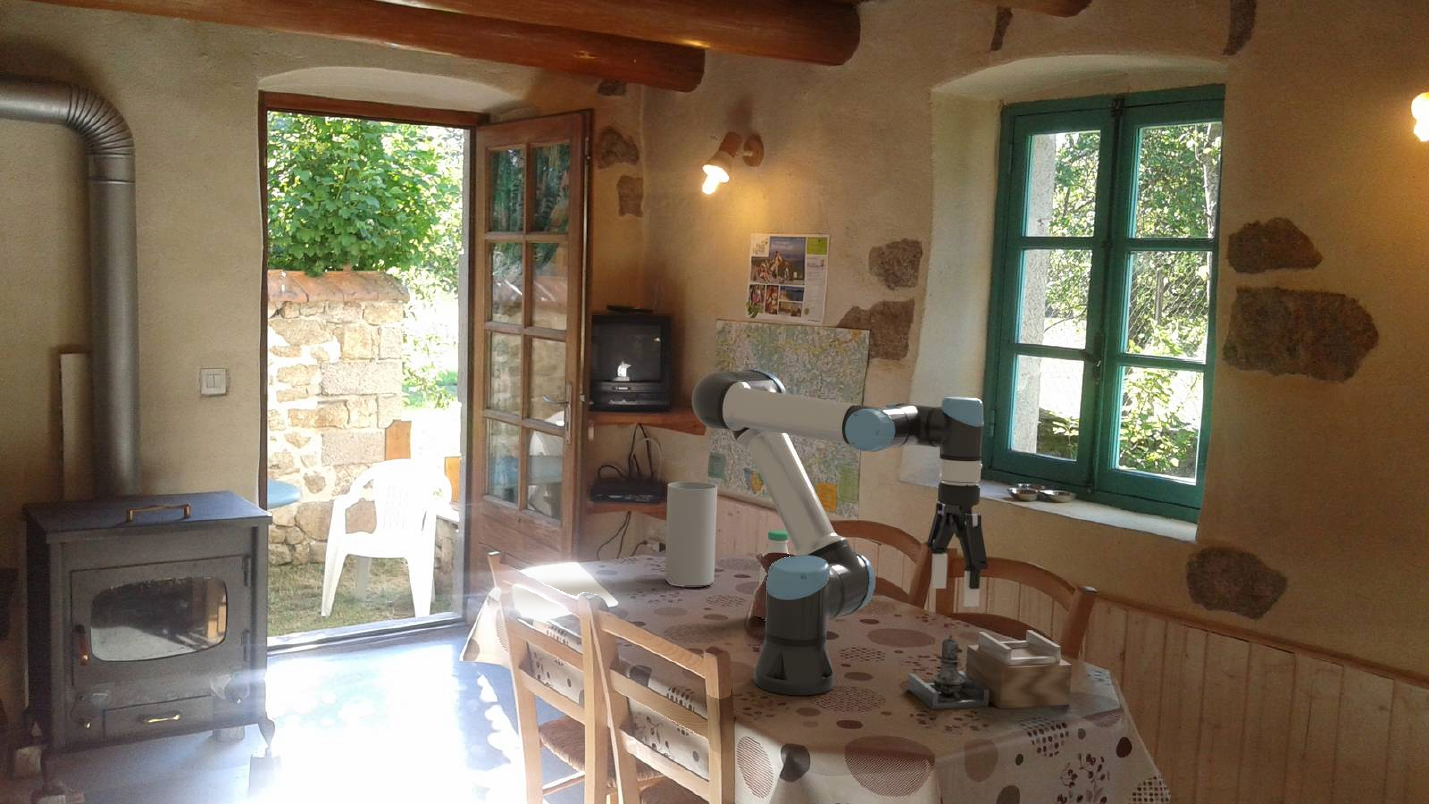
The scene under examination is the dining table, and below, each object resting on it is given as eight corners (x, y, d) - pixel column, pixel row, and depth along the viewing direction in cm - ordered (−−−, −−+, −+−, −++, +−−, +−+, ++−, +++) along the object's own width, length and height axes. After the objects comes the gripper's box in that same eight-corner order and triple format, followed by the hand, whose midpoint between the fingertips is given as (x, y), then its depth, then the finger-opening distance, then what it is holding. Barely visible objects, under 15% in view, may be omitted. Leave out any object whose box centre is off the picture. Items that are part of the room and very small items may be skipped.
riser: (999, 708, 216) (1003, 651, 215) (965, 683, 229) (968, 630, 228) (1069, 704, 219) (1072, 648, 218) (1031, 680, 233) (1034, 627, 232)
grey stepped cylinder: (963, 704, 217) (967, 640, 216) (930, 701, 218) (934, 637, 217) (963, 694, 223) (967, 631, 222) (931, 691, 224) (934, 628, 223)
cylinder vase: (723, 582, 305) (726, 485, 303) (696, 591, 294) (700, 491, 292) (682, 574, 311) (685, 480, 309) (654, 583, 301) (658, 485, 299)
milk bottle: (763, 623, 267) (767, 535, 265) (753, 614, 275) (756, 528, 273) (796, 622, 269) (800, 534, 268) (785, 613, 277) (788, 528, 275)
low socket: (932, 709, 214) (933, 692, 214) (907, 689, 225) (908, 673, 224) (988, 706, 217) (989, 690, 217) (961, 686, 227) (962, 671, 227)
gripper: (1011, 492, 206) (1005, 613, 208) (948, 472, 230) (943, 580, 232) (971, 493, 204) (965, 614, 206) (912, 472, 228) (908, 581, 230)
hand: (954, 597), depth 219 cm, fingers open, 13 cm apart
